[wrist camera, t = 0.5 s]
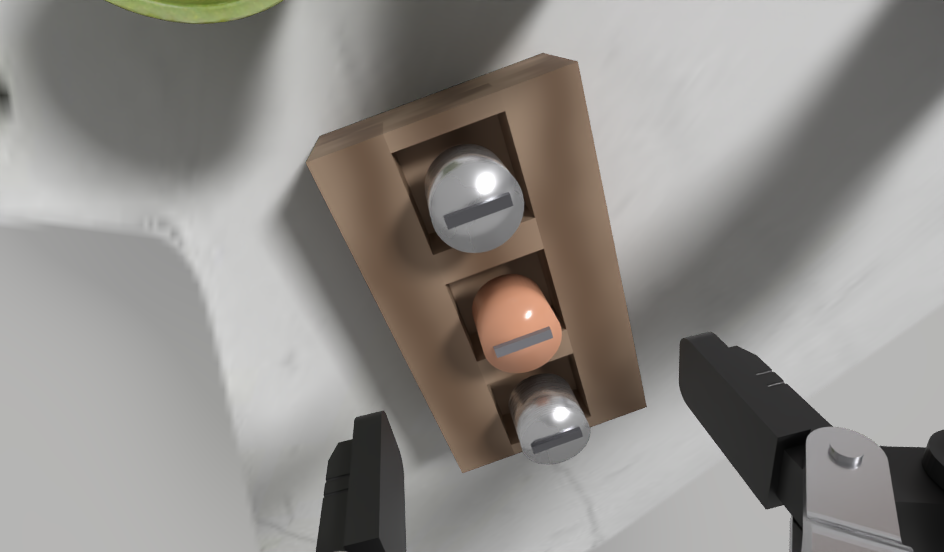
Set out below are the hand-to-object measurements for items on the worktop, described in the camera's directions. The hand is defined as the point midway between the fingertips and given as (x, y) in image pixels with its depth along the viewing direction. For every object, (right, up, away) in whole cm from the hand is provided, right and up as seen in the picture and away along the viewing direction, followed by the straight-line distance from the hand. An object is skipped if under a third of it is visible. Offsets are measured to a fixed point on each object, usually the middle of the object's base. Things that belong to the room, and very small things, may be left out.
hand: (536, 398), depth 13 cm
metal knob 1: (-2, +8, +13) cm, 15 cm away
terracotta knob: (0, +1, +17) cm, 17 cm away
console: (0, +4, +22) cm, 22 cm away
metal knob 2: (+3, -5, +21) cm, 21 cm away
